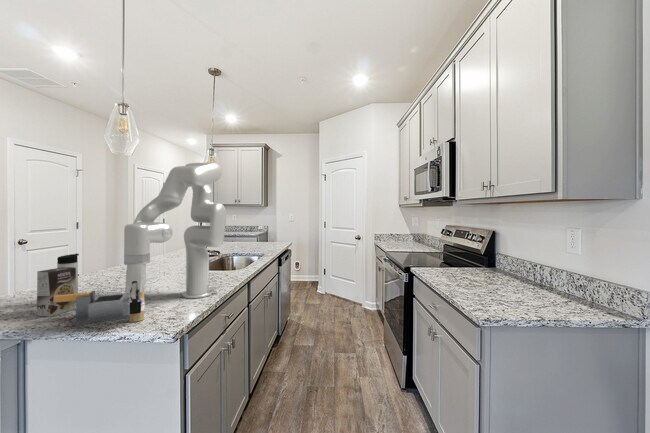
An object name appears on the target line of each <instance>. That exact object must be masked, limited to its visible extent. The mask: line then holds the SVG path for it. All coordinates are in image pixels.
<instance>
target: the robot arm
mask: <svg viewBox="0 0 650 433" xmlns="http://www.w3.org/2000/svg"><path fill="white" fill-rule="evenodd" d="M221 176H222V169H221V166H220V165H219V164H218V163H216V162H212V161H211V162H189V163H187V164H185V165H181V166H180V165H179V166H174V167H173V168H171V170H170V171H169V173H168V175H167V177H166V178H165V181H164V183H163V186H162V187H161V190H160V191H159V194H158V195H157V196H156V197H155V198H153V199H152V200H151V201H150V202H148V203H147V204H146V205H145V206H144V207H143V208H141V210H139V212H138V214H137V215H136V217H135V219H134V221H133V222H132V223H128V224H126V225H125V226H124V229H123V265H124V266H126V272H125V273H126V274H125V291H124V292H125V293H126V294H128V295H129V297H130V314H137V313H141V301H140V293H141V292H143V290H144V291H145V288H146V283H147V282H146V281H147V265H148V264H149V263H150V261H151V260H150V259H151V258H150V257H151V256H150V254H151V253H150V252H151V251H150V250H151V246H150V245H151V244H152V243H157V244H161V243H165V242H168V241H170V239H171V238H172V237H173V228H172V227H171V226H170V225H169V224H168V223H164V222H155V221H156V220H157V219H158V217H160V215H161V216H162V215H163V214H165V213H167V212H169V211H171V210H174V209H175V208H178V207H179V206H181V204H182V202H183V200H184V197H185V195H186V193H187V190H188V188H190V187H191V190H192V197H191V198H192V199H191V207H190V219H191V221H193V222H195V223H198V224H200V223H202V224H209V225H191V226H189V227H187V228H186V229H185V230H184V233H183V242H184V246H185V256H186V257H185V290H184V291H183V292H182V294H181V297H183V298H184V299H200V298H206V297H208V296H211V295H212V294H213V290H220V284H210V281H209V279H210V277H209V276H210V273H209V272H210V255H209V252H208V250H207V248H218V247H220V246H221V245H223V242H224V239H225V235H226V234H225V231H226V226H227V225H226V222H227V210H226V208H225V206H224V204H223V203H221V202H217V201H215V202H213V189H212V187H211V184H213V183H216V182H217V181H219V180H220V179H221ZM144 285H145V287H144ZM130 291H131V294H130ZM136 291H139V292H136ZM125 293H124V294H125ZM137 295H138V296H137Z"/></svg>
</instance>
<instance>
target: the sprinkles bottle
mask: <svg viewBox="0 0 650 433" xmlns="http://www.w3.org/2000/svg"><path fill="white" fill-rule="evenodd" d="M144 287H145V288H146V284H145V285H144ZM136 292H139V291H136ZM130 294H131V291H130V293H129V295H130ZM137 296H138V295H137ZM140 301H141V313H137V314H130V318H128V319H129V320H128V321H129V322H131V323H137V322H141V321H143V320H145V289H144V290H143V292H141V293H140ZM128 304H129V312H130V296H128Z"/></svg>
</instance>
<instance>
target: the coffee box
mask: <svg viewBox="0 0 650 433" xmlns="http://www.w3.org/2000/svg"><path fill="white" fill-rule="evenodd" d="M36 272H37V273H36V275H37V277H36V282H37V283H36V284H37V285H36V316H38V317H39V316H40V317H49V318H52V317H54V316H55V317H56V316H58V315H60V314H63V313H66V312H69V311H73V310H76V301H66V302H55V303H54V296H56V295H65V294H76V268H73V267H61V268H57V267H56V268H50V269H44V270H43V269H42V270H40V271H39V270H38V271H36Z"/></svg>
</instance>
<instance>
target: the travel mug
mask: <svg viewBox="0 0 650 433" xmlns="http://www.w3.org/2000/svg"><path fill="white" fill-rule="evenodd" d="M78 256H80V255H79V253H73V254H65V255H61V256H58V257H57V263H56V264H57V267H56V268H61V267H73V268H76V294H77V293H79V282H78V281H79V274H78V273H79V264H78V263H79V261H78V260H79V259H78Z"/></svg>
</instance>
